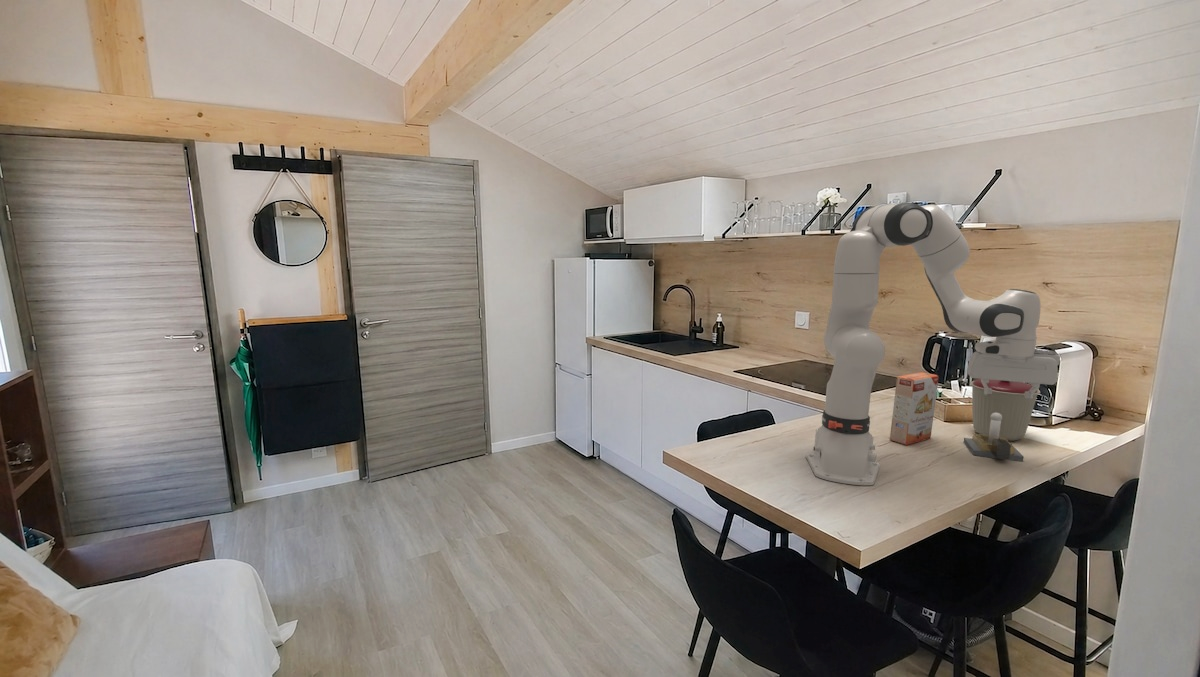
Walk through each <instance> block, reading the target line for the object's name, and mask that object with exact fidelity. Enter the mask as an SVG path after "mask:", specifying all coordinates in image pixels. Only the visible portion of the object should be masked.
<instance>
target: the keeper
mask: <svg viewBox="0 0 1200 677" xmlns="http://www.w3.org/2000/svg"><path fill="white" fill-rule="evenodd" d="M1001 420H1002V415H1001V414H999V413H993V414H991V423H990V431H989V438H988V443H991V444H992V441H993V439H999V432H1000V424H1001ZM963 444H964V445H965V446H966V448H967V449H968V450H969V452H970V454H972V455H973V456H977V457H983V458H991V459H997V458H996V457H995V456H994V454H993V453H992V452H990V451H982V450H980V449H979V447H978V446H977V445H976V444H975V443H974V441H973V440H972V438H970V437H969V438H968V437H963ZM998 459H1001V460H1005V461H1006V460H1007V461H1016V462H1024V455H1023V454H1022V453H1021V452H1020V451H1019V450H1018V449H1017V448H1016V447H1015V451H1014V454H1010V456H1009V459H1004V458H998Z"/></svg>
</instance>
